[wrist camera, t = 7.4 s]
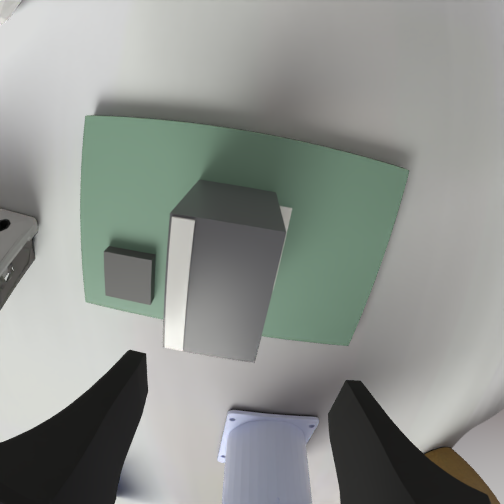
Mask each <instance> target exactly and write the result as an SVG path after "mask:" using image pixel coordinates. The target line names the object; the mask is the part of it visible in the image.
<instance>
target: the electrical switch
mask: <svg viewBox="0 0 504 504" xmlns="http://www.w3.org/2000/svg"><path fill="white" fill-rule="evenodd" d="M37 232H38V225H37V221H36V219H35V218H34V217H31V216H27V215H24V214H20V213H16V212H12V211H8V210H5V209H1V208H0V310H1V308H2V307H3V305H4V304H5V302H6V301H7V299H8V297H9V296H10V294H11V293H12V291H13V290H14V288H15V287H16V285H17V284H18V282H19V281H20V280H21V278H22V277H23V275H24V274H25V272H26V271H27V270H28V268H29V267H30V265H31V264H32V263H33V261H34V260H35V255H34V252H33V248H32V238H33V237H34V236H35V235H36V234H37ZM12 267H13V270H14V271H13V270H12ZM8 273H10V274H9V276H8V278H7V280H6V281H5V279H4V278H5V276H6V275H7V274H8Z"/></svg>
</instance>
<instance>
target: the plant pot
mask: <svg viewBox="0 0 504 504" xmlns="http://www.w3.org/2000/svg"><path fill="white" fill-rule="evenodd" d="M424 455H425V456H427V457H428V458H429V459H430V460H431V461H432V462H434V463H435V464H436V465H438V466H439V467H440V468H442V469H443V470H444V471H446V472H447V473H449V474H450V475H452V476H453V477H455V478H456V479H458V480H460V481H461V482H463V483H465V484H466V485H468V486H470V487H472V488H475V489H477V490H479V491H481V492H483V493H485V494H488V496H489V499H490V502H491V504H500V503H499V501H498V500H497V498H496V497H495V495H494V494H493V492H492V491H491V490H490V488H489V487H488V486H487V484H486V483H485V482H484V481H483V480H482V479H481V477H480V476H479V475H478V474H477V473H476V472H475V470H474V469H473V468H472V467H471V466H470V465H469V464H468V463H467V462H466V461H465V460H464V459H463V458H462V457H461V456H459V455H458V454H457V453H456V452H455V451H454V450H453V449H452V448H449V447H443V448H439V449H435V450H433V451H430V452H428V453H425V454H424Z"/></svg>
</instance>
